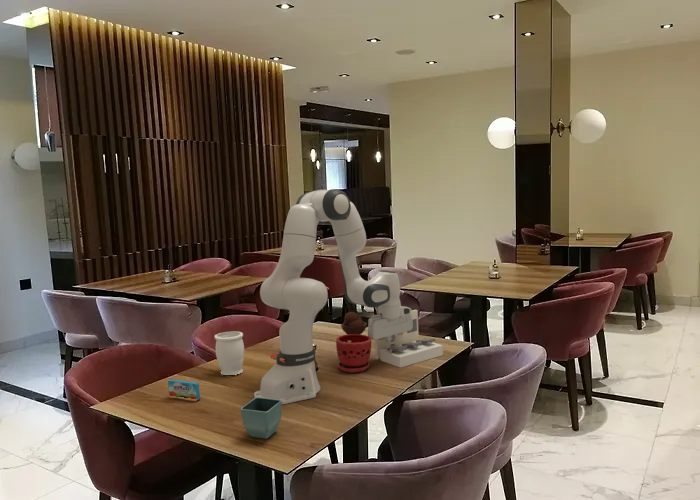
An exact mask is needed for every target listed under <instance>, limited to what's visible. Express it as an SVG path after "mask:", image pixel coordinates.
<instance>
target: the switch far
mask: <svg viewBox="0 0 700 500" xmlns="http://www.w3.org/2000/svg"><path fill="white" fill-rule="evenodd" d="M419 341H421V343H429V342H433V343H434V342H436V339H435V338H432V339H430V338H425V337H423V338H419V339H418V340H416V342H419Z"/></svg>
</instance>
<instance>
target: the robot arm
mask: <svg viewBox="0 0 700 500" xmlns="http://www.w3.org/2000/svg"><path fill="white" fill-rule="evenodd" d="M320 222H321V223H322V222H323V223H324V222H329V223H330V224H331V226H332V230H333V234H334V237H335V241H336V244H337V254H338V259H339V264H340V268H341V273H342V276H343V282H344V284H343V285H344V286H343V291H344V292H343V294H344V297H345V299H346V300H347V302H348V303H350V304H352V305H359V306H363V307H366V308H371V309H372V308H373V309H374V308H377V312H378V313H377V314H372V315H370V317H369V318H368V321H367V324H368V325H367V327H368V328H367V336H368V337H370V338H371V341H372V340H373V341H375V340H377V339H381V338H384V339H385V340H386V342H387V346H388V347H392V346H395V345H396V343H395V341H396V339H397V337H398V334H399V333H403V332H407V331H411V330H412V328H413V321H412V315H411V314H410V313H411V311H412V308H411V307H408V306H405V305H402V303H401V299H400V296H401V285H400V284H401V283H400V278H399V275H398V273H397V272H396V271H392V270H387V269H386V270H385V269H381V270H378V271H377V273H376V275H374V276H373V277H372V278H371V279H369V280H365V279H364V278H362V277H361V275H360V271H359V267H358V262H357V254H358V253H360V252H361V251H362V250H363V249H364V247H366V244H367V235H366V234H367V233H366V230H365V227H364V224H363V221H362V218H361V216H360V214H359V211H358V210H357V208H356V205H355V204H354V203H353V202H352V201H351V200H350V199H349V197H348V195H347V193H346V192H344V191H343V190H341V189H338V188H337V189H335V188H331V189H317V190H314V191H307V192H305V193H303V194H301V195H300V196H299V197H298V198H297V200H296V203H295V205H292V206H291V207H290V209H289V210H288V213H287V217H286V220H285V223H284V229H283V236H282V237H283V238H282V245H281V252H280V256H279V259H278V262H277V264H276V267H275V268H274V269H273V272H272V273H271V274H270V275H269V276H268V277H267V278H266V279H264V281H263V282H262V283H261V286H260V288H259V289H260V290H259V296H260V299H261V301H262V303H264V304H265V305H267V306H269V307H271V308H274V309H280V310H288V311H289V316H288V320H287V321H286V322H284V323H282V325H281V326H280V328H279V331H278V333H279V334H278V335H279V348H280V350H279V352H278V354H277V353H275V352H271V354H270V358H271V360H275V361H276V363H275V364H274V365H273V366H272V367H271V368H269V370H268V371H267V372H266V373H265V374H264V375H263V376H262V377H261V380H260V389H259V390H257V391H255V392H254V393H253V397H254V398H256V397H259V398H267V399H276V400H282V405H286V404H291V403H294V402H295V403H296V402H299V401H305V400H309V399H314V398H316V397H317V393H319V392H320V391H321V386H320V383H319V378H318V375H317V371H316V366H315V363H316V352H315V348H314V339H313V337H314V335H313V333H314V332H313V330H314V322H315V319H316V317H317V314H318V313H319V312H320V311H321V310H322V309H323V308H324V307H325V306H326V304H327V302H328V298H329V297H328V296H329V294H328V289H327V286H326V284H324V283H323V281H319V280H316V279H314V278H308V277H307V278H306V277H301V275H302V273H303V271H304V269H305V268H306V267H308V266H310V265H311V264H312V263H313V261H314V258H315V251H316V243H317V241H316V240H317V231H318V230H317V228H318V225H319V223H320ZM390 336H393V337H392V340H391V341H390V340H389V339H390ZM254 398H253V399H254Z"/></svg>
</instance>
